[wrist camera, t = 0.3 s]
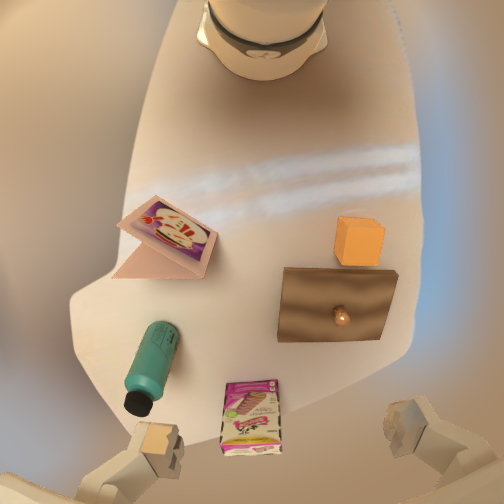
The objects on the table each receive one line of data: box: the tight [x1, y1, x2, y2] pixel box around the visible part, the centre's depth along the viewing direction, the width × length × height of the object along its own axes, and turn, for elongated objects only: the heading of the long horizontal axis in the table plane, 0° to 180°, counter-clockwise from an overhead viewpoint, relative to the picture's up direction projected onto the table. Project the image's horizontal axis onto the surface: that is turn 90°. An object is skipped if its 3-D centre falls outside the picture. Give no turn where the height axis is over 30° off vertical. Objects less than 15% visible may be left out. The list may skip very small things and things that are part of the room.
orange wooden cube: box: [334, 217, 385, 266], centre depth 45 cm, size 6×6×5 cm
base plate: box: [277, 267, 399, 342], centre depth 51 cm, size 14×20×2 cm
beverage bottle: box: [124, 322, 179, 417], centre depth 45 cm, size 6×7×20 cm
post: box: [332, 305, 350, 328], centre depth 48 cm, size 2×2×4 cm
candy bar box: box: [220, 380, 282, 456], centre depth 53 cm, size 11×5×16 cm, turn 97°
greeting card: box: [112, 195, 218, 279], centre depth 40 cm, size 11×7×15 cm, turn 57°
